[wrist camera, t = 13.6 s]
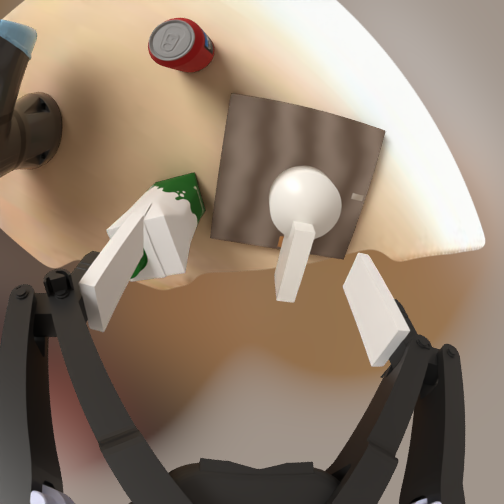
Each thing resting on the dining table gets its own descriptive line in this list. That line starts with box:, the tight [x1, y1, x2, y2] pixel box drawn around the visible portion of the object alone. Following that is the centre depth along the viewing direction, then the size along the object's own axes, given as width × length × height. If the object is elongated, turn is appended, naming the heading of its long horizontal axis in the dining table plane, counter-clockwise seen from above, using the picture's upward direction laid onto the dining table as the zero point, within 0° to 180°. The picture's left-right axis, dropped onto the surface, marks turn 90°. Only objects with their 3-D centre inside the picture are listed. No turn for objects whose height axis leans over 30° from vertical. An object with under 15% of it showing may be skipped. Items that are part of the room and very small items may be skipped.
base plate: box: [210, 93, 385, 259], centre depth 44 cm, size 24×24×2 cm
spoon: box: [269, 166, 342, 302], centre depth 37 cm, size 18×9×6 cm, turn 171°
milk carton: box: [106, 172, 206, 281], centre depth 38 cm, size 9×9×20 cm
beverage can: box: [148, 18, 214, 72], centre depth 29 cm, size 7×7×12 cm
